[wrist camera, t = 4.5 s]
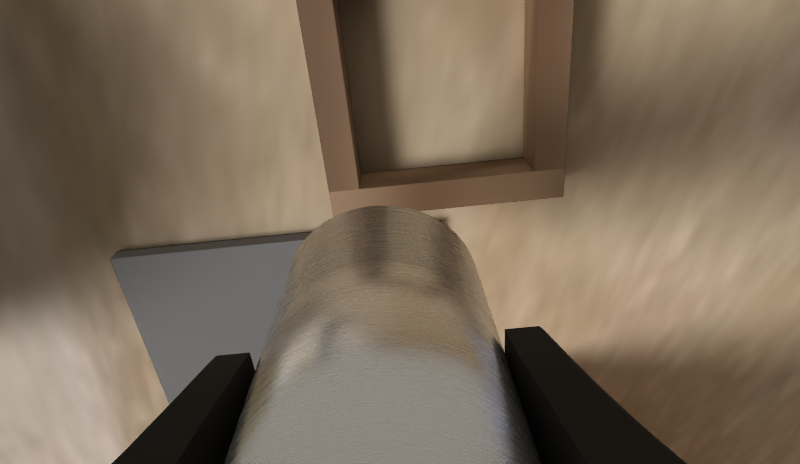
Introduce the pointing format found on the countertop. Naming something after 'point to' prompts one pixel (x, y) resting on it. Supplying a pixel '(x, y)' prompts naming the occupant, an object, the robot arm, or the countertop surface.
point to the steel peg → (382, 354)
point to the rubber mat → (204, 300)
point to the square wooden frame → (459, 182)
